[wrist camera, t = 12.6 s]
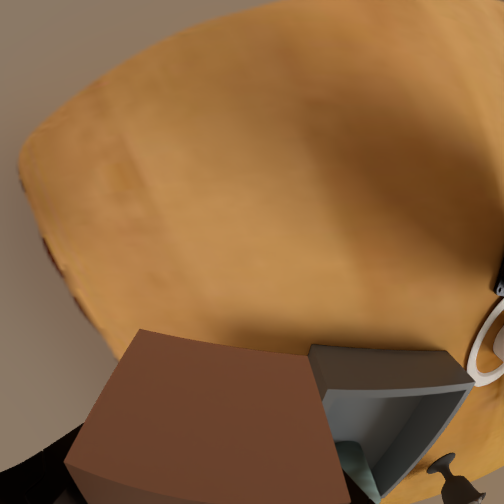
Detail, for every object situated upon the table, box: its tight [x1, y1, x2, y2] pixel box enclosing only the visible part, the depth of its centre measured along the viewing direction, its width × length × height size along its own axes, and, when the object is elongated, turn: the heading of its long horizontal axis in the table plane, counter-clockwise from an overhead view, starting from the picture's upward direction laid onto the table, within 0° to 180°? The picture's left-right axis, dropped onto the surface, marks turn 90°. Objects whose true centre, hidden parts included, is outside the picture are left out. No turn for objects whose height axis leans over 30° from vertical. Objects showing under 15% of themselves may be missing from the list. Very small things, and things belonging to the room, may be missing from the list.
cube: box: [64, 329, 351, 504], centre depth 6 cm, size 5×5×5 cm
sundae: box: [427, 453, 486, 504], centre depth 20 cm, size 7×7×15 cm
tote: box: [308, 344, 476, 498], centre depth 20 cm, size 13×17×5 cm
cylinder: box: [334, 441, 381, 504], centre depth 20 cm, size 5×5×7 cm
